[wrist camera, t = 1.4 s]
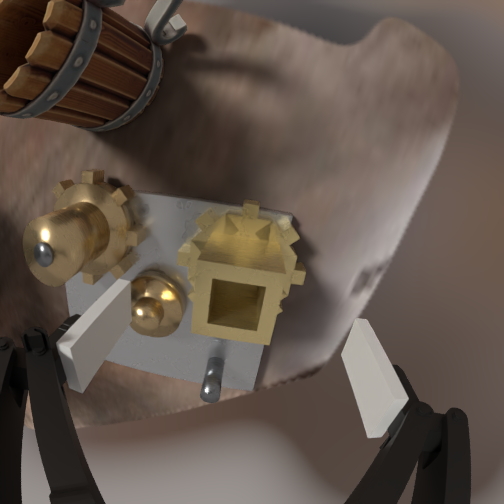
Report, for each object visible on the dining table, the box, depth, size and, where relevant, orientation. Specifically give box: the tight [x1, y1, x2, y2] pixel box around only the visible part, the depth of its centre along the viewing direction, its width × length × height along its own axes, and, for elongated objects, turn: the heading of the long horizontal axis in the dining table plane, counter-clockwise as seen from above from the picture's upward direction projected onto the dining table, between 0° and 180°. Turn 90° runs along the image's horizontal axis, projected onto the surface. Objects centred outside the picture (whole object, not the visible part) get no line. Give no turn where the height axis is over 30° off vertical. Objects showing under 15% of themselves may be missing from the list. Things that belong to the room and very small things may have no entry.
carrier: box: [23, 169, 293, 403], centre depth 23 cm, size 23×22×10 cm
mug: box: [0, 0, 187, 131], centre depth 13 cm, size 16×11×15 cm
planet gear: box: [177, 199, 306, 345], centre depth 21 cm, size 10×10×8 cm
